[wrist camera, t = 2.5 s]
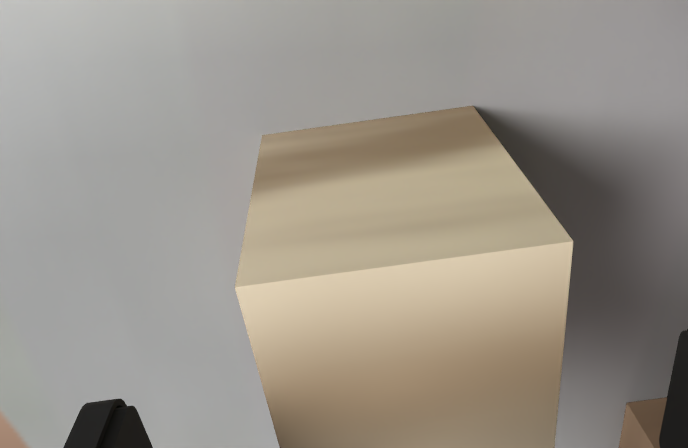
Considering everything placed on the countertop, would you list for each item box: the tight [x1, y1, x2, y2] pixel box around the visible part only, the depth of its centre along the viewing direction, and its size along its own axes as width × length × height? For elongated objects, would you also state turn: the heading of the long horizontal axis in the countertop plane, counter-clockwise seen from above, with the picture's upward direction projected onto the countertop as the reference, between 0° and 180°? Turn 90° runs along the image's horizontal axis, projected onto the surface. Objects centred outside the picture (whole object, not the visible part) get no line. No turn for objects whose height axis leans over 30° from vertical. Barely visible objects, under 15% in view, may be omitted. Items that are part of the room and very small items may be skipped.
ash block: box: [235, 106, 573, 448], centre depth 12 cm, size 5×5×6 cm
